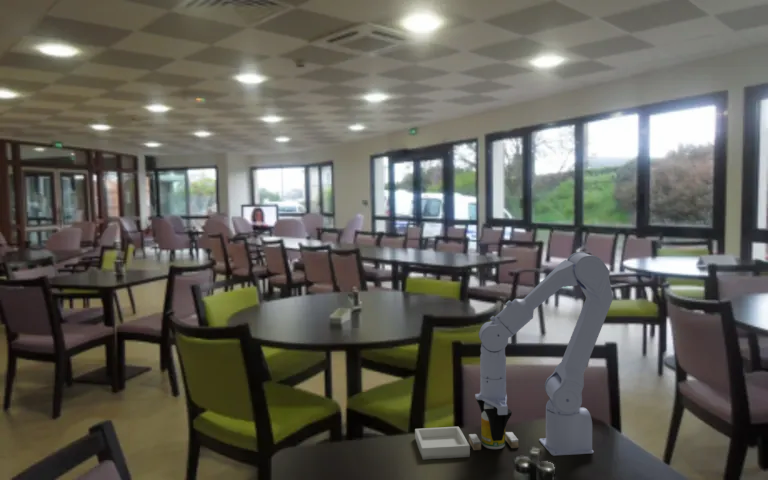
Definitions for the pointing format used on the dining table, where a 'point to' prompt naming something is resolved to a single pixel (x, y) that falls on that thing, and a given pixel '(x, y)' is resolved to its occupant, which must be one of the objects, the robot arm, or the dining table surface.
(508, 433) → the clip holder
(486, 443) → the supplement bottle
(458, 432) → the tray
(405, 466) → the dining table surface
